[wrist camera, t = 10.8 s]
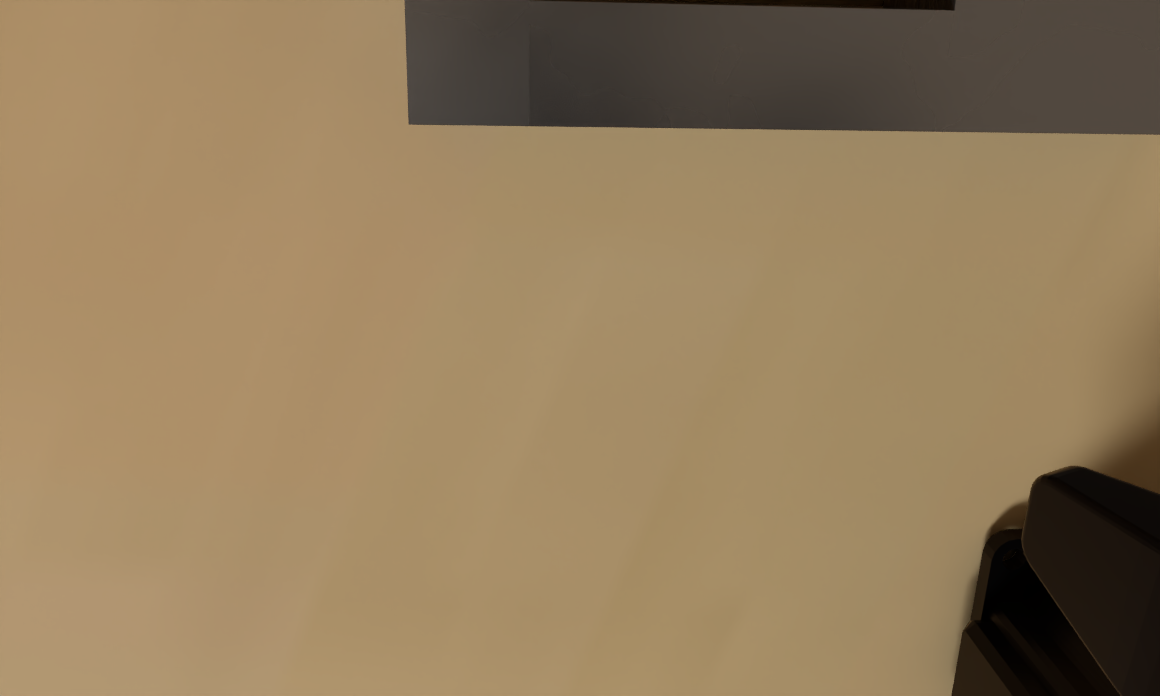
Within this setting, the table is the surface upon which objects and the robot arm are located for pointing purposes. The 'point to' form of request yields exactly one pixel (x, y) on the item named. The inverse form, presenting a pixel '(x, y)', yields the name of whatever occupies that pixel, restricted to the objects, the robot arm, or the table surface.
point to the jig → (788, 65)
